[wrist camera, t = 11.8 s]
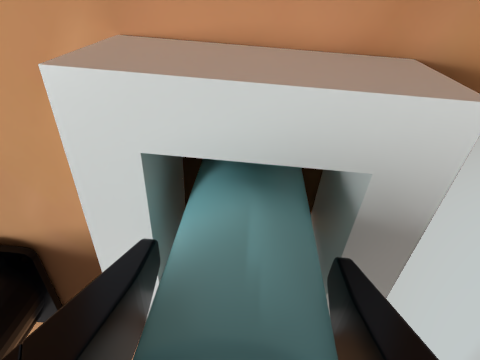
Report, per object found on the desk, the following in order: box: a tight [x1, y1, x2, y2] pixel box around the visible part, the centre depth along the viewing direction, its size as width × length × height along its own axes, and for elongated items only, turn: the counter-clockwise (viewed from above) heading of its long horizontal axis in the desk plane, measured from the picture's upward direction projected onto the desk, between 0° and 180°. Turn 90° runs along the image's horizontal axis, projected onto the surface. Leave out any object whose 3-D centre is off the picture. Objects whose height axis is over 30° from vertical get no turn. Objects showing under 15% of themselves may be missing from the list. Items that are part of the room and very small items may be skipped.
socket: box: [38, 35, 480, 320], centre depth 10 cm, size 9×9×4 cm
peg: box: [133, 159, 338, 360], centre depth 9 cm, size 4×4×8 cm
